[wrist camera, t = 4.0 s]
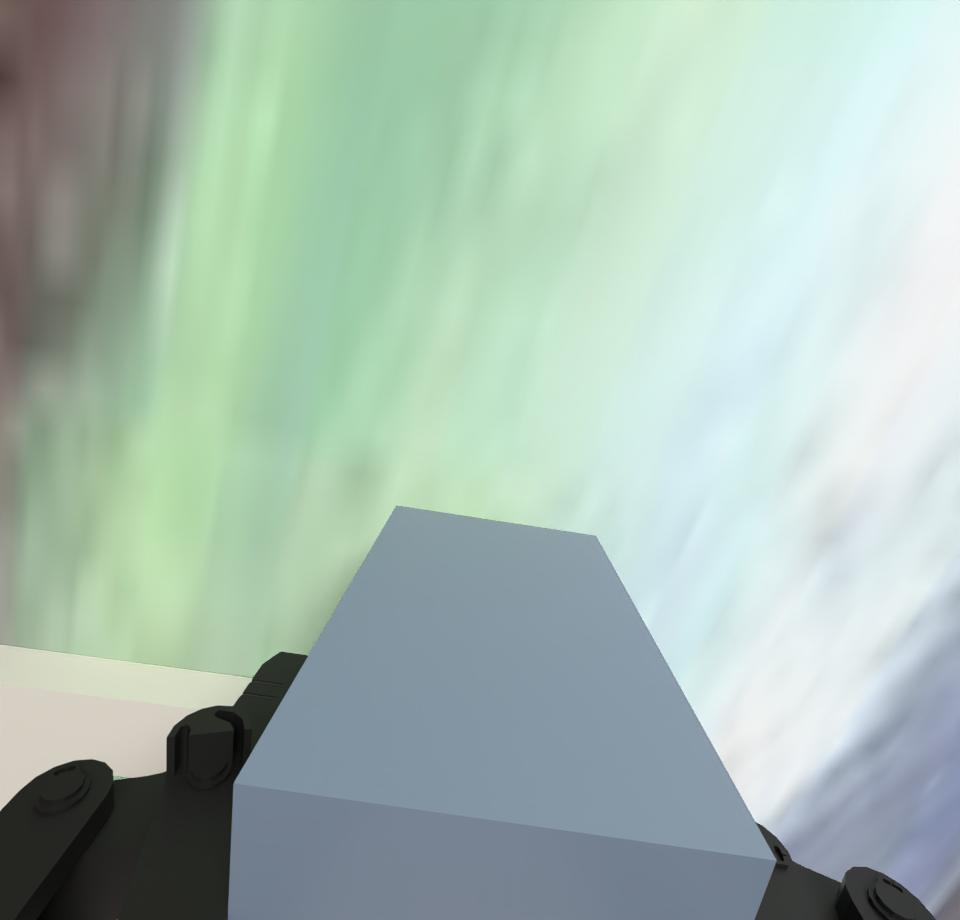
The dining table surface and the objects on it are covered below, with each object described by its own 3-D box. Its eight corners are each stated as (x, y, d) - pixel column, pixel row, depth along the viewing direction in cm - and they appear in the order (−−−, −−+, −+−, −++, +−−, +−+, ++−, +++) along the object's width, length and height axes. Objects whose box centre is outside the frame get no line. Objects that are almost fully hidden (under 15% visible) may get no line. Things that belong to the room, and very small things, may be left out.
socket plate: (423, 700, 21) (416, 750, 18) (390, 926, 24) (380, 996, 21) (-109, 630, 20) (-195, 671, 17) (-73, 872, 23) (-142, 938, 20)
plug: (584, 514, 17) (776, 860, 6) (551, 668, 19) (650, 1195, 7) (406, 487, 17) (233, 783, 6) (387, 644, 19) (218, 1139, 7)
